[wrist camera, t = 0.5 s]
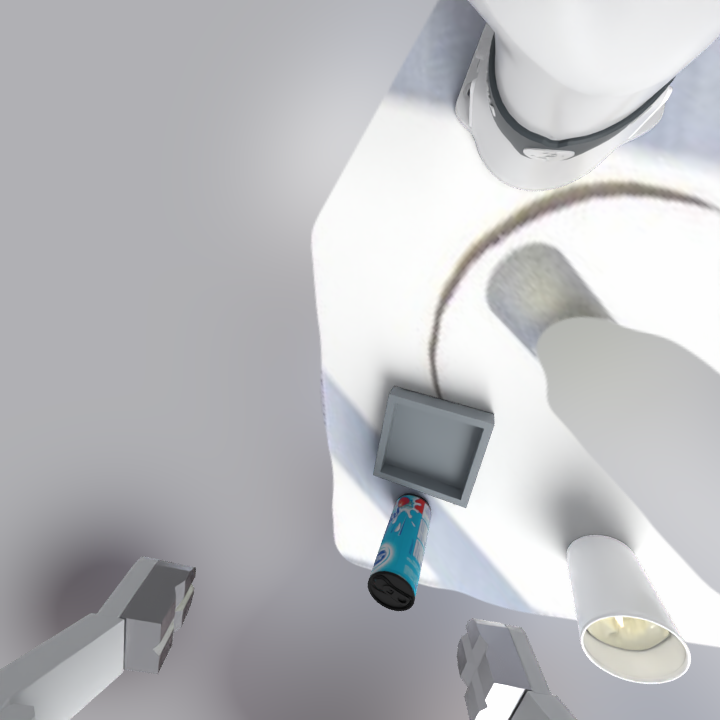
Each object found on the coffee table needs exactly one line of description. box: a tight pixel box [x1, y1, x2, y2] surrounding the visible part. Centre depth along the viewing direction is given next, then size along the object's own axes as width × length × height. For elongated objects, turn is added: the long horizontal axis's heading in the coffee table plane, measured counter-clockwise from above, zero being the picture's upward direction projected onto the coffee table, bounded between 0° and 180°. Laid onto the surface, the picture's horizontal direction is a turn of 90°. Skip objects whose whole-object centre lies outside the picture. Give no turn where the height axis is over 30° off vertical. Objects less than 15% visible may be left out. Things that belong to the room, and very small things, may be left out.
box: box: [373, 386, 494, 508], centre depth 49 cm, size 14×14×3 cm
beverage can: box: [368, 494, 431, 611], centre depth 49 cm, size 6×6×15 cm
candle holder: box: [566, 535, 691, 684], centre depth 42 cm, size 10×10×12 cm
